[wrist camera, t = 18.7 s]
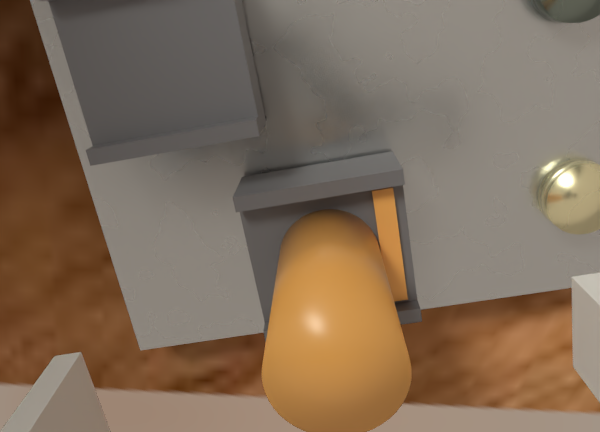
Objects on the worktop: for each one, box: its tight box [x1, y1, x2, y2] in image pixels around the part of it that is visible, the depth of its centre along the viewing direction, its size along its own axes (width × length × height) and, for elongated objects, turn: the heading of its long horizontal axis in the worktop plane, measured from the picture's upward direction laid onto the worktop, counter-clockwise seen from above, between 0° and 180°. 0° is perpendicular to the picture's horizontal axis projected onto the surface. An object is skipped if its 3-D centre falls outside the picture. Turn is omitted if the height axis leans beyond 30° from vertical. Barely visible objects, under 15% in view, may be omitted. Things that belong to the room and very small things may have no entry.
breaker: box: [39, 0, 266, 166], centre depth 21 cm, size 6×6×3 cm
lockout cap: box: [262, 209, 412, 432], centre depth 19 cm, size 4×4×8 cm
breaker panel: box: [30, 0, 600, 350], centre depth 24 cm, size 25×17×3 cm
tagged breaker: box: [232, 151, 422, 341], centre depth 23 cm, size 6×6×3 cm
